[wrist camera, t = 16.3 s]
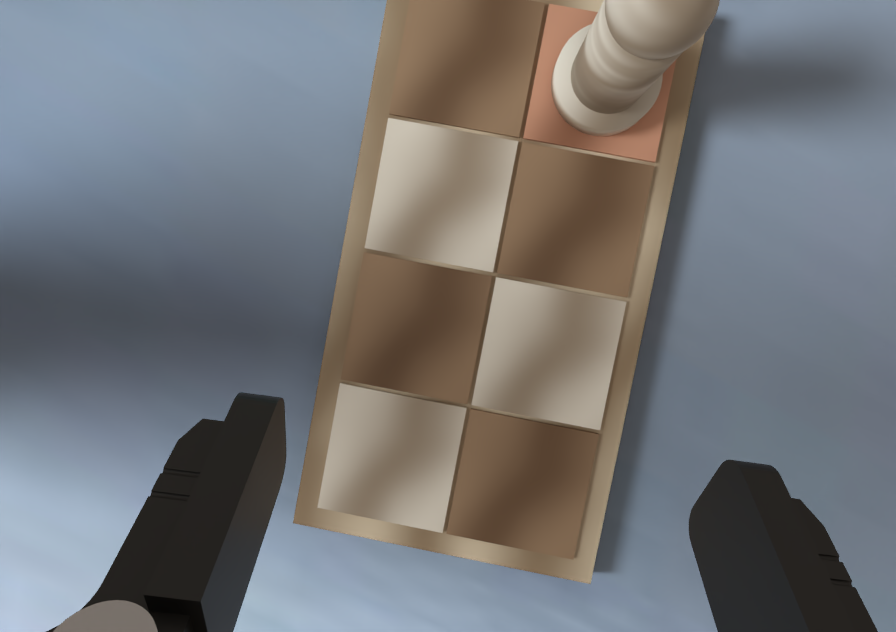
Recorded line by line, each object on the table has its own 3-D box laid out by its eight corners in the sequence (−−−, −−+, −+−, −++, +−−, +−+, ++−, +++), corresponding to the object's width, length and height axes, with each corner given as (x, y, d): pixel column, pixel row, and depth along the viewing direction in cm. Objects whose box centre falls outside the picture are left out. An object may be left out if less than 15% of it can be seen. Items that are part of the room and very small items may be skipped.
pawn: (540, 123, 28) (584, 33, 18) (564, 22, 28) (622, -127, 18) (640, 146, 28) (739, 68, 18) (665, 44, 28) (780, -93, 18)
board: (300, 513, 31) (291, 524, 29) (398, -32, 29) (394, -48, 28) (585, 572, 30) (591, 585, 29) (700, 20, 29) (711, 7, 27)
